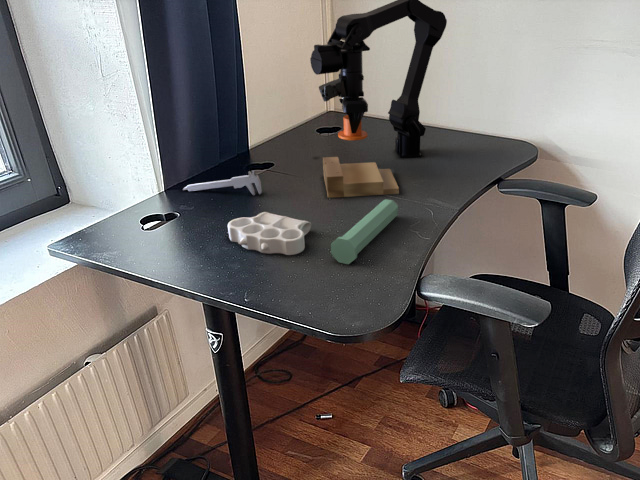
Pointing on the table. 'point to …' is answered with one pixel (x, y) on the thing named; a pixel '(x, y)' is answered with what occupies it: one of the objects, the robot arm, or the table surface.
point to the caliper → (230, 183)
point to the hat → (347, 133)
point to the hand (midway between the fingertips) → (352, 130)
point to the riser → (357, 179)
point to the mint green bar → (363, 232)
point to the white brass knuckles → (269, 233)
